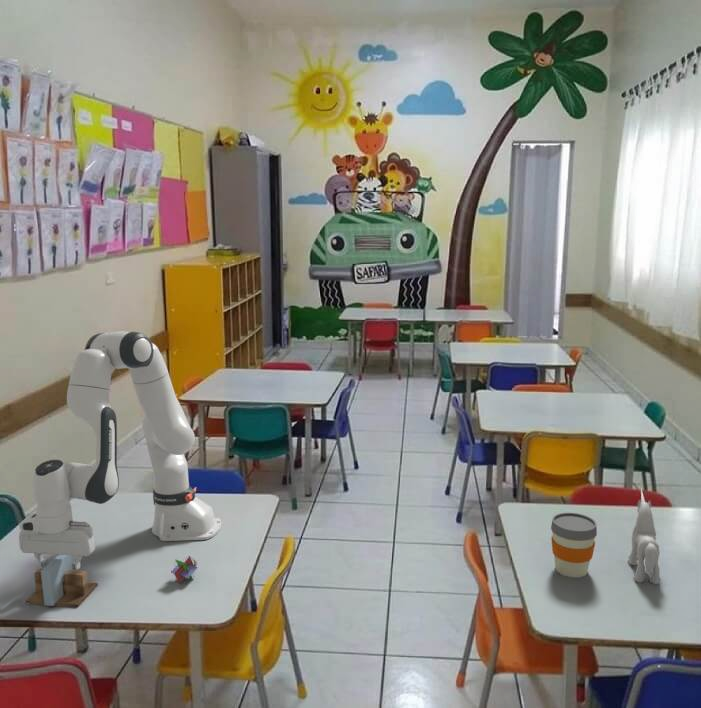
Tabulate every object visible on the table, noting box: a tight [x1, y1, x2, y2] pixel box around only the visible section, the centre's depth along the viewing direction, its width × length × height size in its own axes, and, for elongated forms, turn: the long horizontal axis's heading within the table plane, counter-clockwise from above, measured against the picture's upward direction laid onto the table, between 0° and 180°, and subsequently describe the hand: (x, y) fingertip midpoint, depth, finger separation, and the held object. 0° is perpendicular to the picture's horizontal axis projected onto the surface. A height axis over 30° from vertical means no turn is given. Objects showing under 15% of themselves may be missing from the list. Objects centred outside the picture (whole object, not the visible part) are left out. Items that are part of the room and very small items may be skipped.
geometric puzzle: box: [170, 556, 199, 585], centre depth 201 cm, size 7×7×8 cm
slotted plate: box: [41, 555, 80, 607], centre depth 193 cm, size 14×2×10 cm, turn 173°
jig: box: [25, 567, 99, 608], centre depth 194 cm, size 15×11×7 cm
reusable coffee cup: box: [550, 512, 598, 579], centre depth 203 cm, size 13×13×15 cm
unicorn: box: [627, 488, 661, 585], centre depth 204 cm, size 8×25×20 cm, turn 166°
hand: (60, 567), depth 193 cm, fingers open, 8 cm apart
